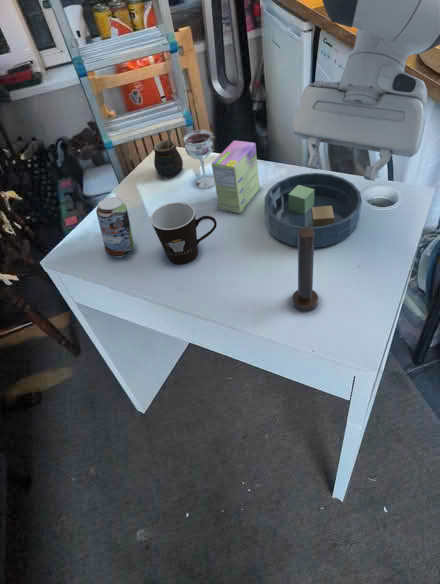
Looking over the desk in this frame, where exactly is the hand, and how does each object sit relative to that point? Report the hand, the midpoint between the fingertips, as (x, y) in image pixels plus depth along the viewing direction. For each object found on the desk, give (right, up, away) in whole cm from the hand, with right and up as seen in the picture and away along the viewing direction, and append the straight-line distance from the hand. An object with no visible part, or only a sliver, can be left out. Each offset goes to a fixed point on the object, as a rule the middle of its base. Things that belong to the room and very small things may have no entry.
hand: (339, 173), depth 69 cm
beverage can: (-40, -10, +24) cm, 48 cm away
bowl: (0, -4, +23) cm, 23 cm away
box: (-15, +2, +32) cm, 35 cm away
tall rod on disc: (-4, -21, +7) cm, 22 cm away
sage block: (-1, -1, +25) cm, 25 cm away
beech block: (+2, -6, +19) cm, 20 cm away
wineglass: (-23, +8, +39) cm, 46 cm away
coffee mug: (-26, -12, +20) cm, 35 cm away
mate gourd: (-32, +12, +44) cm, 55 cm away
